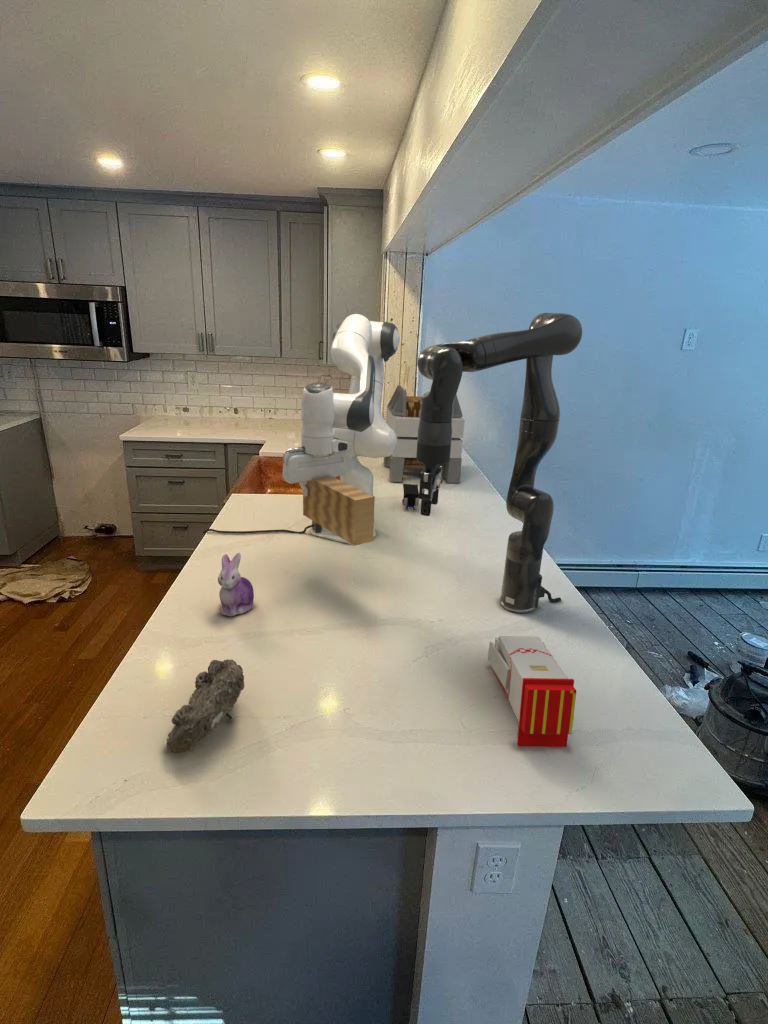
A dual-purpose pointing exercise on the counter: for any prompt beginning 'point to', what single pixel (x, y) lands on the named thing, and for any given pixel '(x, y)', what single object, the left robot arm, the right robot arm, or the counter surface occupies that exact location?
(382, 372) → the left robot arm
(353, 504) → the box
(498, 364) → the right robot arm
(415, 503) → the figurine character
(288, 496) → the counter surface
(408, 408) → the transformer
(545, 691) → the toy
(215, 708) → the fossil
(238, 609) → the figurine
